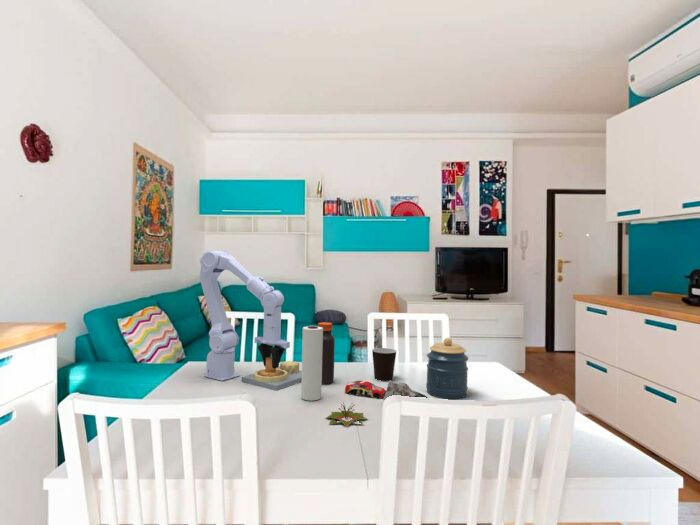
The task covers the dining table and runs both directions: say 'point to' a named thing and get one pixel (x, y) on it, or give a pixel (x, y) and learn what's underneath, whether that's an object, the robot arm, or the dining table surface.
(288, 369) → the carrier plate
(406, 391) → the camouflage cap
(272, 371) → the planet gear
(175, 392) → the dining table surface
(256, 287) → the robot arm
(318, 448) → the dining table surface
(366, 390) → the race car
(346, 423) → the lily flower
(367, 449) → the dining table surface
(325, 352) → the bottle
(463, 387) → the canister
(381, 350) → the coffee mug
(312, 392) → the paper towel roll
